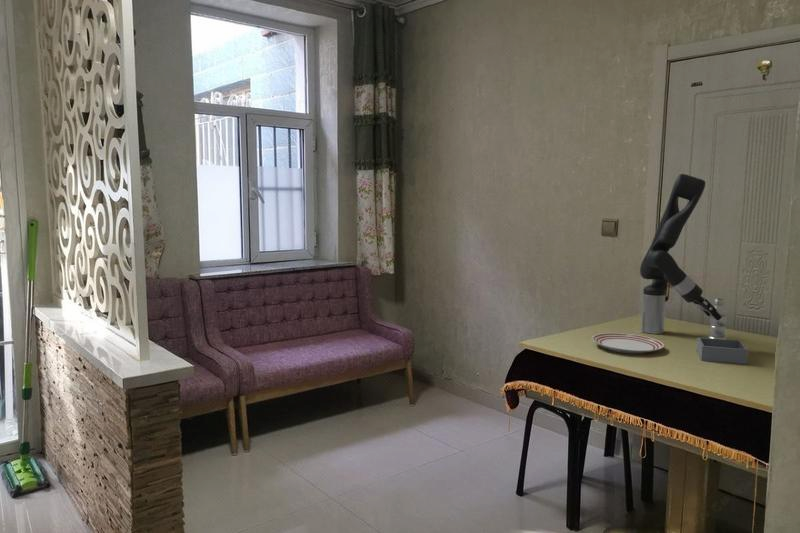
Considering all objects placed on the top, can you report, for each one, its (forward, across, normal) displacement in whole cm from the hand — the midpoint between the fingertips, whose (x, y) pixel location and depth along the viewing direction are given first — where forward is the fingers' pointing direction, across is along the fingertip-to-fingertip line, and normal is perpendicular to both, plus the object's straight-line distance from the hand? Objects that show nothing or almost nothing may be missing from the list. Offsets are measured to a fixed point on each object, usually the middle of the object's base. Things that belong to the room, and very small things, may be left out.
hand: (715, 316), depth 242 cm
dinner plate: (-15, -3, +34) cm, 37 cm away
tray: (+7, -15, +11) cm, 20 cm away
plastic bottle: (+10, 0, +8) cm, 13 cm away
